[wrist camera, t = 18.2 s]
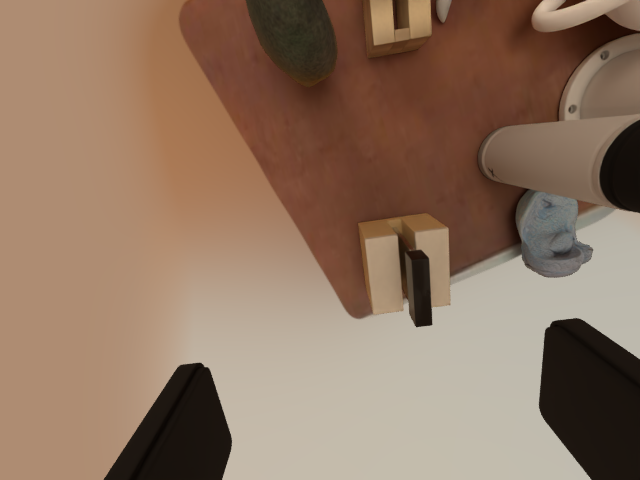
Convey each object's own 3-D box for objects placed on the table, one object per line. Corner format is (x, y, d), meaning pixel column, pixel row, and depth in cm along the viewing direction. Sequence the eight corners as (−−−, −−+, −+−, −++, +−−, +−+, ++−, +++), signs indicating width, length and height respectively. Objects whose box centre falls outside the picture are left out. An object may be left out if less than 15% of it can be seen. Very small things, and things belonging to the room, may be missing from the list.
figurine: (517, 281, 38) (561, 280, 31) (483, 191, 39) (518, 173, 33) (572, 263, 38) (628, 259, 32) (537, 175, 40) (583, 154, 33)
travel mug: (473, 185, 37) (634, 232, 18) (479, 127, 35) (668, 109, 16) (526, 182, 36) (747, 227, 17) (535, 124, 34) (796, 101, 15)
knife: (387, 227, 37) (411, 260, 27) (400, 226, 37) (429, 258, 27) (392, 279, 39) (415, 327, 29) (404, 277, 39) (432, 325, 29)
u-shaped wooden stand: (426, 212, 38) (448, 228, 31) (429, 278, 40) (450, 305, 34) (357, 222, 38) (364, 239, 31) (365, 286, 41) (373, 314, 34)
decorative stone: (347, 78, 33) (364, 29, 19) (301, 110, 34) (284, 87, 20) (299, -11, 31) (276, -144, 17) (251, 26, 32) (190, -68, 18)
